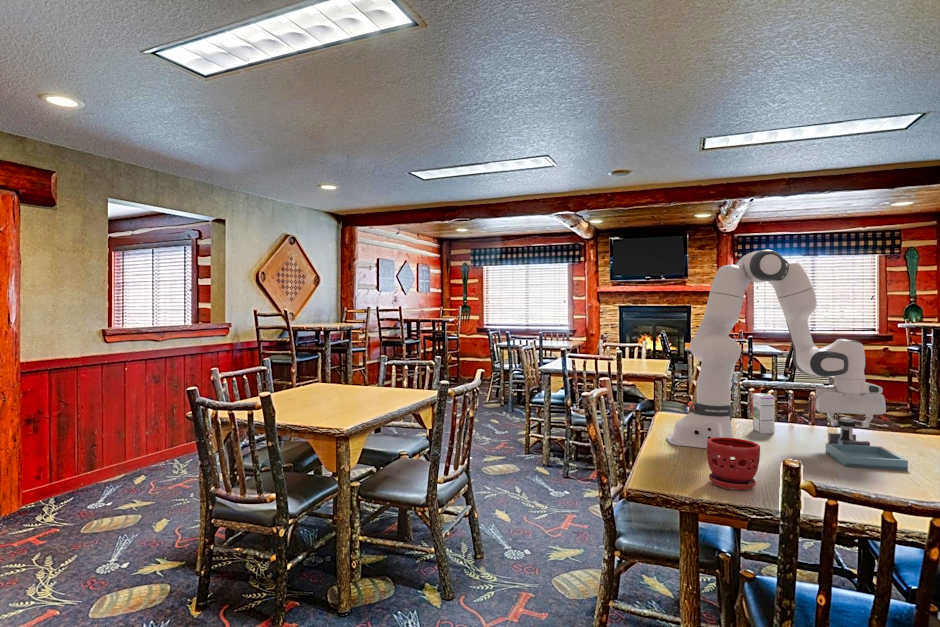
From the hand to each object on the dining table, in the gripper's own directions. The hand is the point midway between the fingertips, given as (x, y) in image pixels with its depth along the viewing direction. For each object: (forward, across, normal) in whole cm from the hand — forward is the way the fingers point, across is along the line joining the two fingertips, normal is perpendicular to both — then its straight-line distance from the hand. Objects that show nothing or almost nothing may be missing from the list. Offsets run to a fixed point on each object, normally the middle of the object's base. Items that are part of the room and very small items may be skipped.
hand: (849, 426), depth 185 cm
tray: (+7, -3, -17) cm, 19 cm away
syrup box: (+7, -23, +18) cm, 30 cm away
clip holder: (+7, -1, 0) cm, 7 cm away
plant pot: (+7, -48, -51) cm, 70 cm away
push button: (+8, -1, 0) cm, 8 cm away
